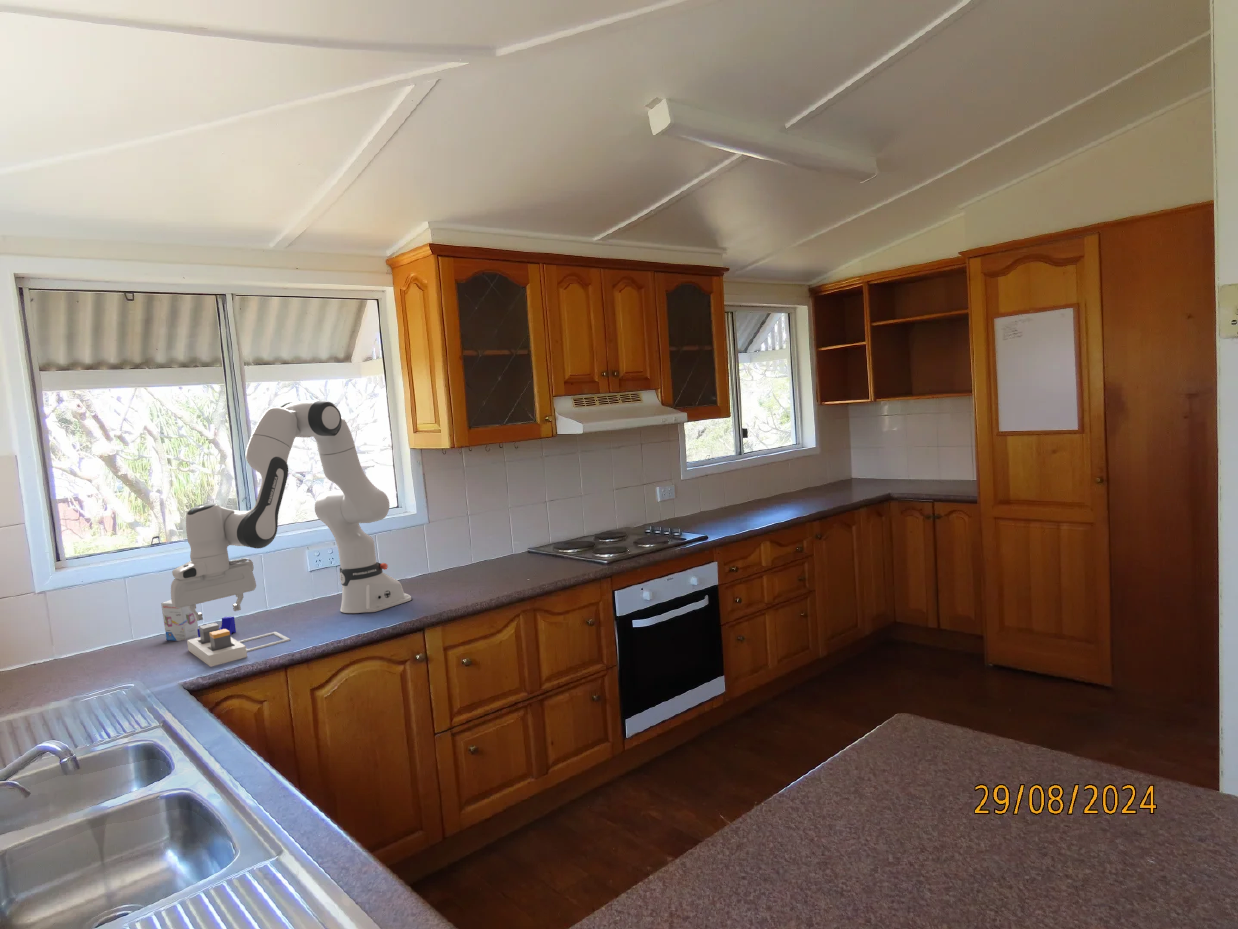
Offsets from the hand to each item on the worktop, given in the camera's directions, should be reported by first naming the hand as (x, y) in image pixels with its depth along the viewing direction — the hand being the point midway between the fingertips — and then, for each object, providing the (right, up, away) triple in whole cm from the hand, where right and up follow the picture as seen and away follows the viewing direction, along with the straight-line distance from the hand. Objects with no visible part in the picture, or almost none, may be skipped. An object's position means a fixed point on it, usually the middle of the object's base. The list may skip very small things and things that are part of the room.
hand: (218, 615), depth 206 cm
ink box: (-24, -12, +26) cm, 38 cm away
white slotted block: (-2, -12, +4) cm, 13 cm away
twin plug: (-6, -11, +8) cm, 15 cm away
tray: (+6, -11, +12) cm, 17 cm away
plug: (+1, -11, +1) cm, 11 cm away
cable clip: (-11, -12, +19) cm, 25 cm away
